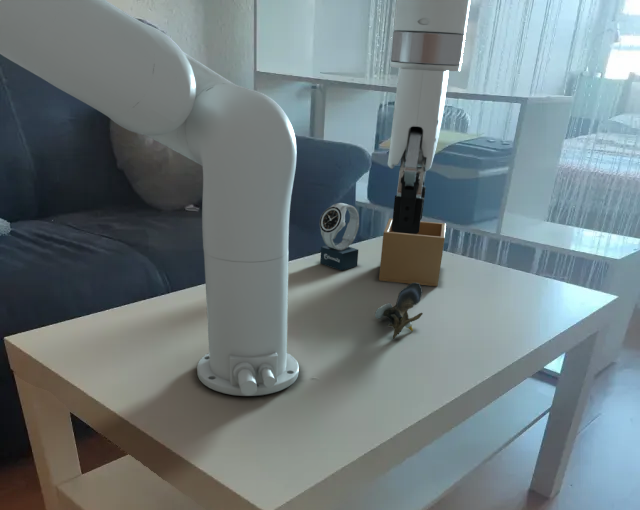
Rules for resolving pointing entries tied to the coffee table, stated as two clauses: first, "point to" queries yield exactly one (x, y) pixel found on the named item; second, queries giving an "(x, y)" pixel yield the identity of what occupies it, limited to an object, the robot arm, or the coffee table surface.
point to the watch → (340, 252)
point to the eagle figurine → (401, 308)
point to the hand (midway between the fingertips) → (407, 224)
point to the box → (413, 254)
